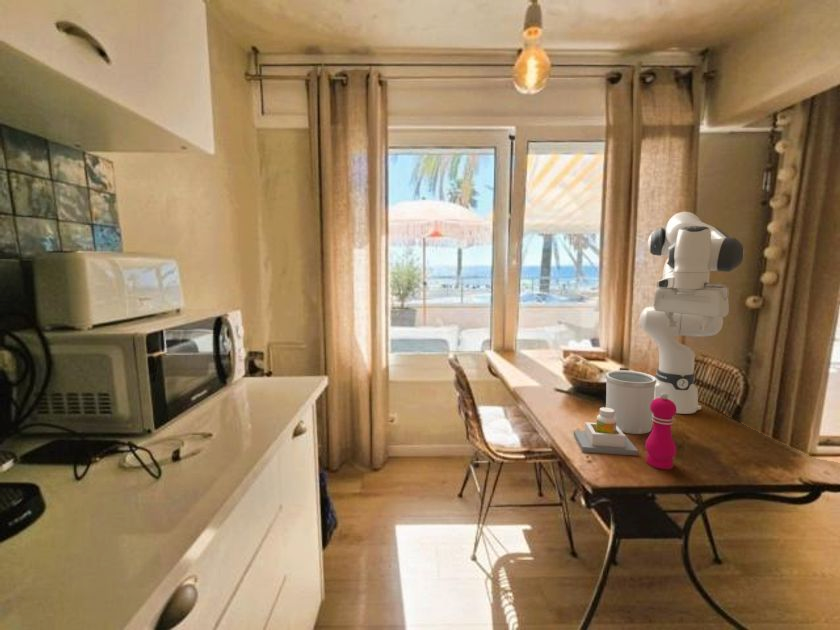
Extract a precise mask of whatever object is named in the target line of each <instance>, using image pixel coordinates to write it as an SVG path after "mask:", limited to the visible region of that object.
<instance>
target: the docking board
mask: <svg viewBox="0 0 840 630" xmlns="http://www.w3.org/2000/svg"><path fill="white" fill-rule="evenodd" d="M596 425H597V422H587V421H585V423H584V430H577V429H576V430H573V437H574V438H575V440H576V442H577V445H578V446H579V448H580V450H581V452H582V453H592V454H593V453H594V454H608V455H609V454H610V455H622V456H623V455H624V456H638V455H639V450H638V449H637V447H636V446H635V445H634V443H633V442H632V441H631V440H630V439H629V438H628V437H627V435H626V434H625V432H622V431H621V430H620V429H619V428H618V426H617V425H616V434H612V433H596Z"/></svg>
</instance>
